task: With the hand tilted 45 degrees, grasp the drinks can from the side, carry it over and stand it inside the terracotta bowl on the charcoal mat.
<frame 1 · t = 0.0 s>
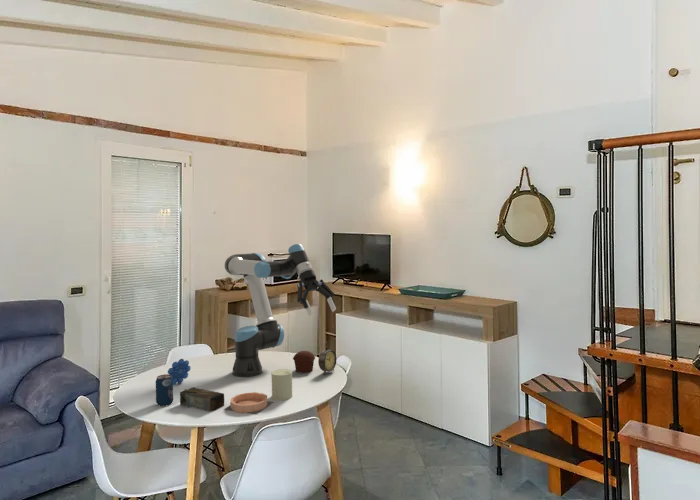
hand: (322, 312, 216), 36 cm above the table, tool tilted 35°, fingers open, 13 cm apart
muffin: (304, 370, 247), on the table
bowl: (249, 405, 197), resting on mat
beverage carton: (202, 407, 199), on the table
can: (282, 398, 207), on the table
alarm clock: (327, 373, 242), on the table
grapes: (178, 383, 229), on the table
soda can: (165, 404, 202), on the table
mat: (249, 407, 197), on the table
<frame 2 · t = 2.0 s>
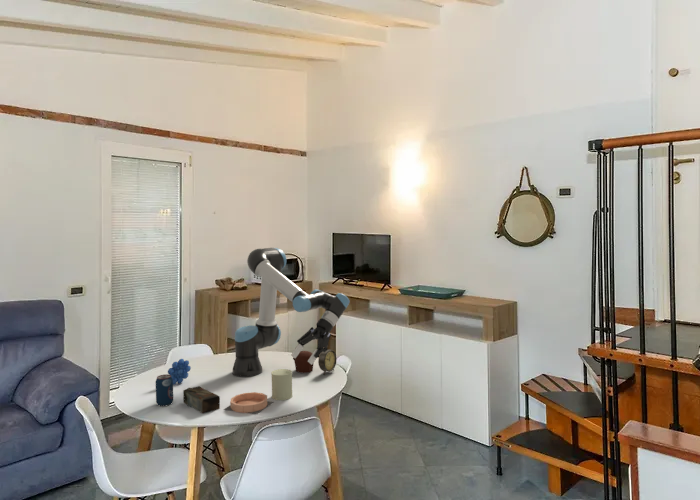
hand: (301, 359, 213), 15 cm above the table, tool tilted 45°, fingers open, 13 cm apart
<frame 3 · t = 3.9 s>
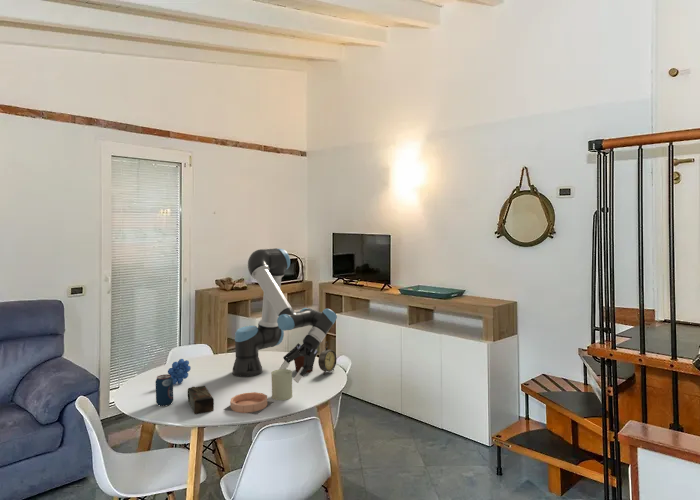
hand: (287, 377, 208), 8 cm above the table, tool tilted 45°, fingers open, 13 cm apart
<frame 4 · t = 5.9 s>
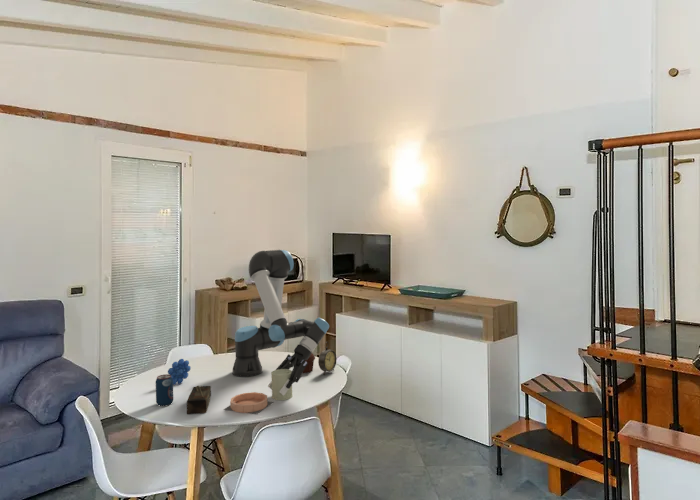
hand: (275, 391, 205), 4 cm above the table, tool tilted 45°, fingers closed on can, 9 cm apart
can: (282, 398, 207), on the table, touching gripper
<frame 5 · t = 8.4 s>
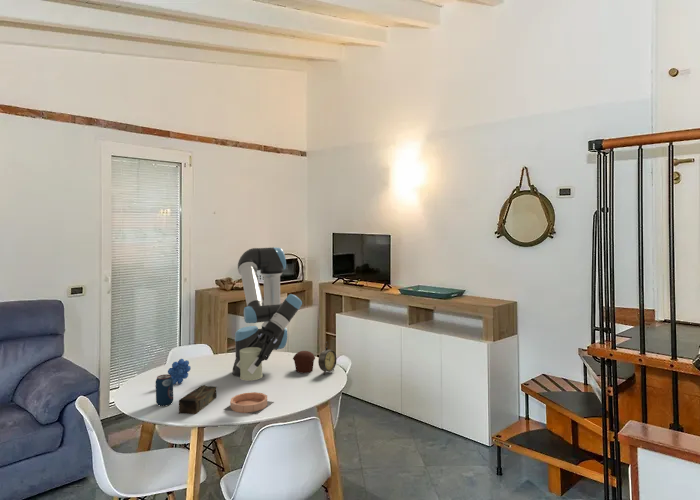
hand: (244, 369, 195), 16 cm above the table, tool tilted 45°, fingers closed on can, 9 cm apart
can: (251, 377, 197), point 12 cm above the table, touching gripper
when the fingers open (6 cm above the table, at t = 11.4 s): can drops 1 cm, resting on bowl.
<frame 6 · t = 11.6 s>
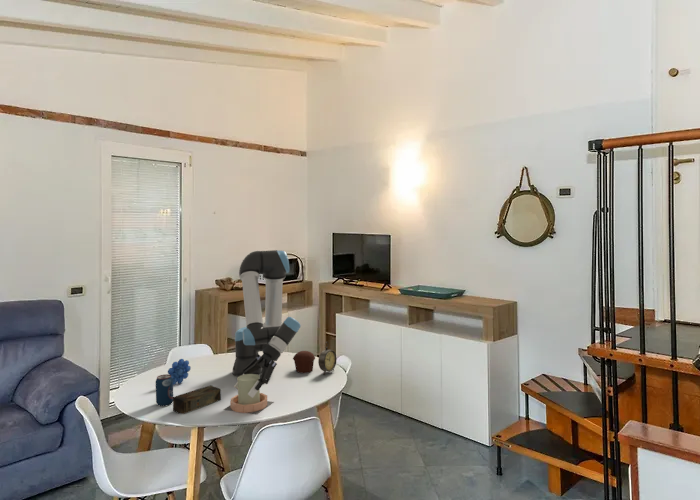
hand: (243, 392, 195), 7 cm above the table, tool tilted 45°, fingers open, 11 cm apart
can: (249, 404, 197), point 1 cm above the table, touching bowl
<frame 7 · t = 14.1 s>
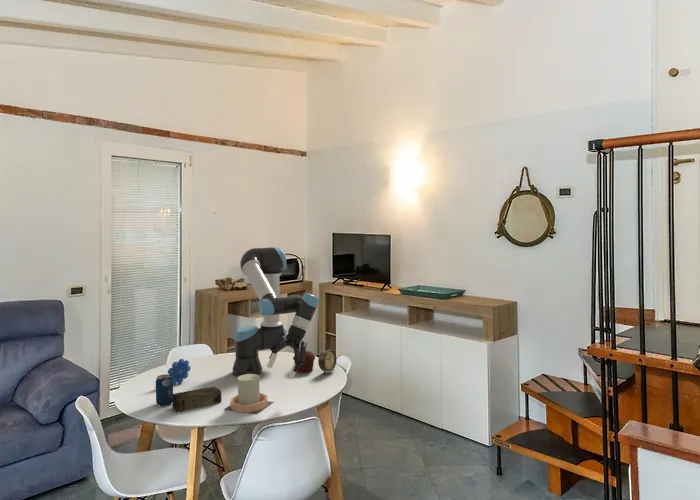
hand: (279, 372, 205), 12 cm above the table, tool tilted 25°, fingers open, 13 cm apart
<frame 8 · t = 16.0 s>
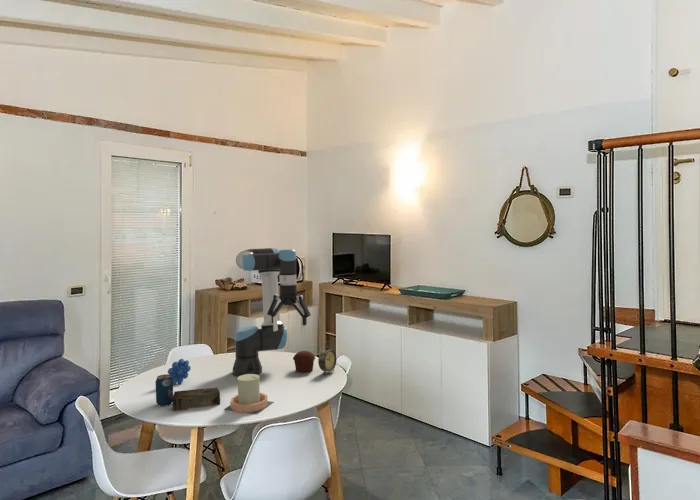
hand: (289, 331, 209), 29 cm above the table, tool pointing down, fingers open, 13 cm apart
at the end: can 0.1 cm from the bowl (horizontally); can point 1.0 cm above the table; can tilted 0° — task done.
